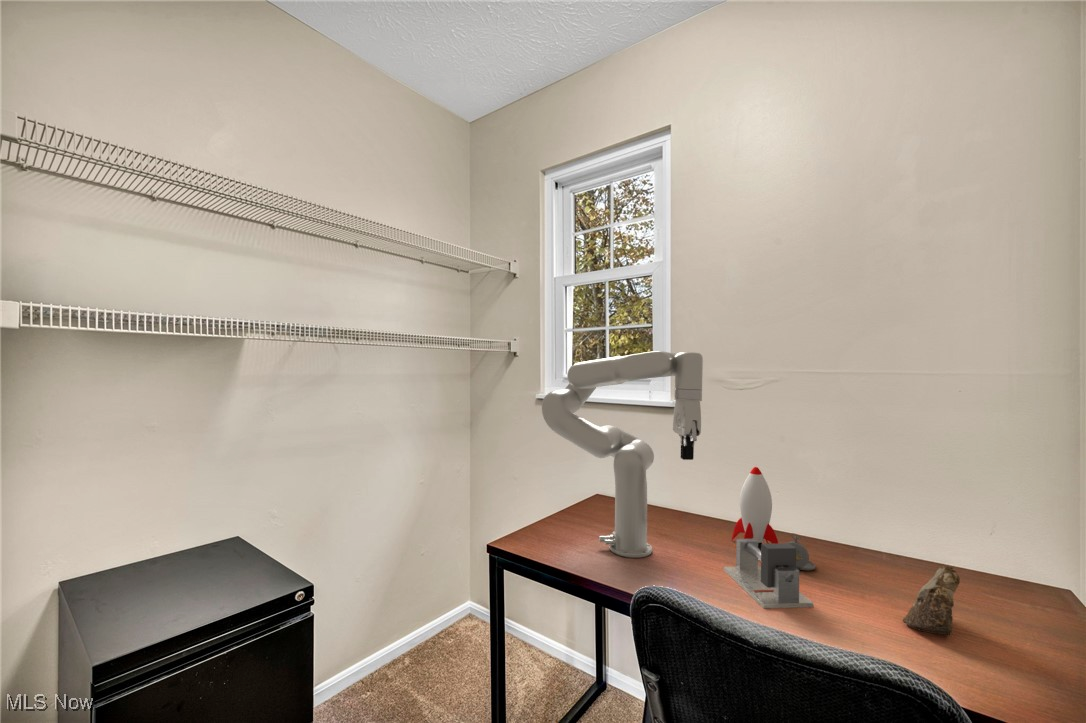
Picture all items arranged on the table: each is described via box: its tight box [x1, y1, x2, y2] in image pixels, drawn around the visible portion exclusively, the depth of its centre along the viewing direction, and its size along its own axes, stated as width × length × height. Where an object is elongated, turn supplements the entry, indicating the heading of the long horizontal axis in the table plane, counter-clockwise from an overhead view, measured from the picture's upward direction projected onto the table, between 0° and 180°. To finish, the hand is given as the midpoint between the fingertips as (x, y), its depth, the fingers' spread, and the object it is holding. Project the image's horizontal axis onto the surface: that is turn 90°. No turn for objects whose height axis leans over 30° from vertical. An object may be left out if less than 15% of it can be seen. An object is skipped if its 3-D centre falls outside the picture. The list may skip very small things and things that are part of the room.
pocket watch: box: [787, 533, 816, 571], centre depth 130 cm, size 8×8×10 cm
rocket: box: [731, 466, 779, 549], centre depth 144 cm, size 11×11×25 cm
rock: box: [902, 565, 961, 637], centre depth 101 cm, size 15×8×15 cm
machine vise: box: [723, 538, 814, 609], centre depth 118 cm, size 12×20×8 cm, turn 4°
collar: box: [760, 542, 797, 588], centre depth 112 cm, size 7×3×9 cm, turn 94°
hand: (686, 459), depth 134 cm, fingers closed
